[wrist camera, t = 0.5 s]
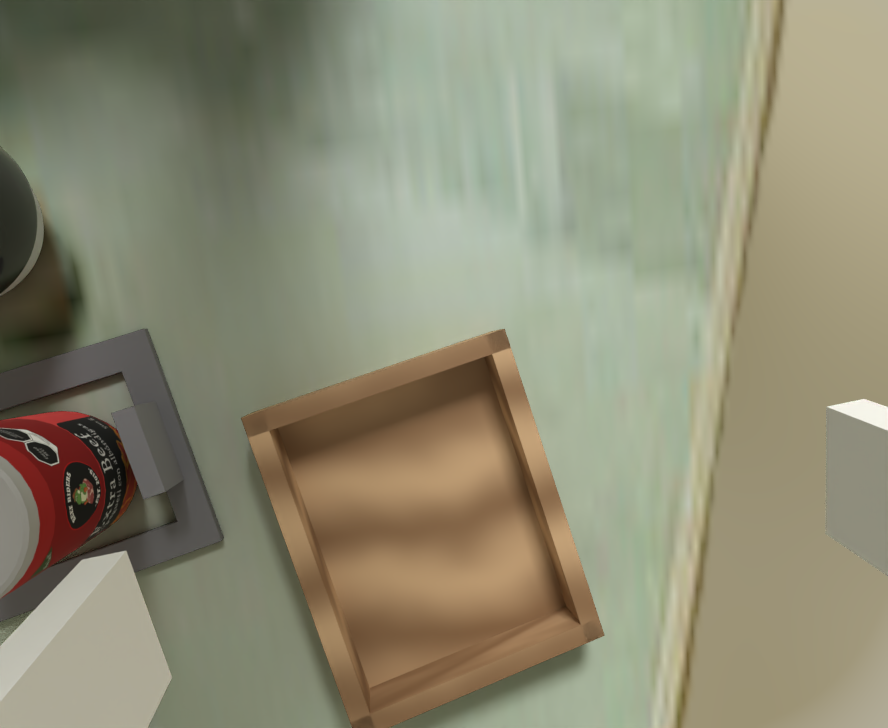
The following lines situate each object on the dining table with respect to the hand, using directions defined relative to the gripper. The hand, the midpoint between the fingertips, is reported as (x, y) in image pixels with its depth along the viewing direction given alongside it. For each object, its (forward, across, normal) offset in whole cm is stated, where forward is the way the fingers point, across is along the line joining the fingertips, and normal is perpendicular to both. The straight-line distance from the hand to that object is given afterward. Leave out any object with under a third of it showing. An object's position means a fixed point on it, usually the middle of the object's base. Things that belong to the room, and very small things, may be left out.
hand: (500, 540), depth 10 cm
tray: (+23, -2, -12) cm, 26 cm away
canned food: (+23, -22, -5) cm, 32 cm away
